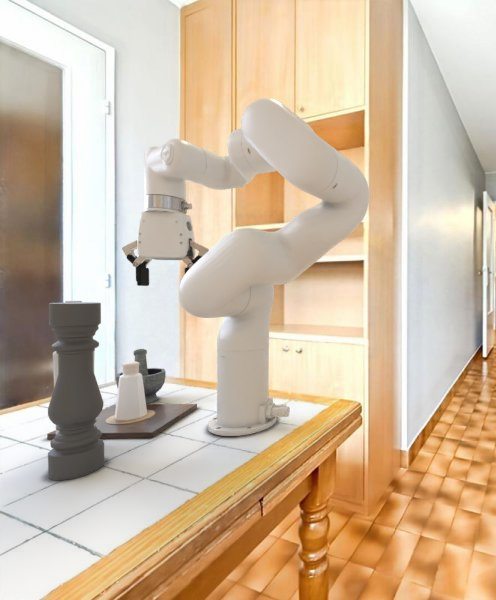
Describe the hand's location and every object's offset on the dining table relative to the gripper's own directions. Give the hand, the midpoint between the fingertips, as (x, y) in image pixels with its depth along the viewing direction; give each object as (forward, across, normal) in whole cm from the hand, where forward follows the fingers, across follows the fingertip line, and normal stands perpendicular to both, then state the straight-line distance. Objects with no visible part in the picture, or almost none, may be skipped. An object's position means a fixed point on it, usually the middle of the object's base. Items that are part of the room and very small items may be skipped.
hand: (166, 285), depth 77 cm
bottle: (+28, +5, +18) cm, 34 cm away
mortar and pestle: (+28, +10, -8) cm, 31 cm away
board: (+28, +4, +6) cm, 29 cm away
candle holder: (+28, 0, +25) cm, 38 cm away
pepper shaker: (+27, +4, +6) cm, 28 cm away
